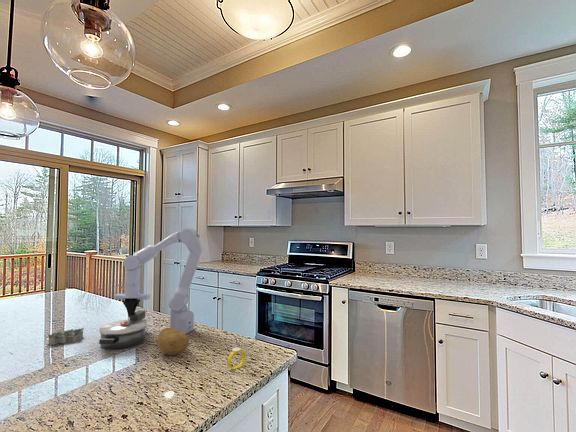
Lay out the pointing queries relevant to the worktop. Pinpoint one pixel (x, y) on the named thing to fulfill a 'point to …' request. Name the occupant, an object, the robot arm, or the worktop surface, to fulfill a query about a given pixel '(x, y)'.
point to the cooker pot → (122, 340)
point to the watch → (234, 350)
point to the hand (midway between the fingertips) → (131, 316)
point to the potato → (172, 341)
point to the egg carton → (66, 336)
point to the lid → (125, 325)
